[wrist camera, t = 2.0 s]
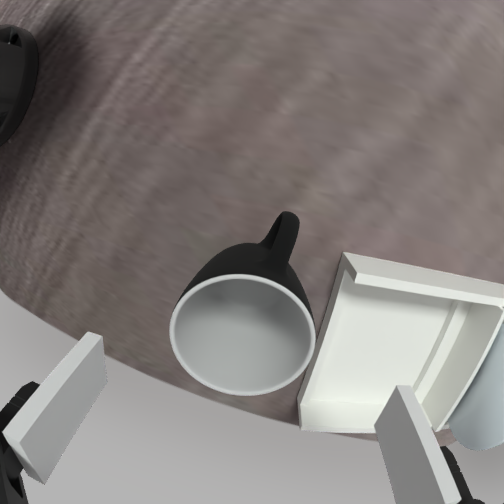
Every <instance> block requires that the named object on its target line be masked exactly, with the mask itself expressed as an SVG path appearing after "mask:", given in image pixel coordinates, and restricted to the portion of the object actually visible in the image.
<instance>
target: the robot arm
mask: <svg viewBox="0 0 504 504" xmlns="http://www.w3.org/2000/svg"><path fill="white" fill-rule="evenodd" d="M37 71H38V50H37V45H36V42H35V40H34V38H33V36H32V35H31V34H30V32H28V31H27V30H25V29H23V28H20V27H17V26H14V25H7V24H5V25H0V146H1V145H2V144H3V143H4V142H6V141H7V140H8V139H9V137H10V136H11V135H12V134H13V133H14V131H15V130H16V128H17V127H18V125H19V124H20V122H21V120H22V118H23V116H24V114H25V112H26V110H27V108H28V105H29V103H30V100H31V97H32V94H33V91H34V87H35V83H36V78H37ZM106 383H107V375H106V366H105V357H104V347H103V336H100V335H97V334H94V333H91V332H87V333H86V334H85V335H84V336H83V337H82V339H81V340H80V341H79V342H78V343H77V344H76V345H75V346H74V347H73V348H72V350H71V351H70V352H69V353H68V354H67V355H66V356H65V357H64V359H63V360H62V361H61V362H60V363H59V364H58V365H57V366H56V368H55V369H54V370H53V371H52V372H51V373H50V375H49V376H48V377H47V378H46V379H45V380H44V381H43V383H42V384H41V385H39V384H37V383H35V382H33V381H32V382H30V383H28V384H26V385H24V386H23V387H22V388H21V389H20V390H19V391H18V392H17V393H16V394H15V397H13V398H12V399H11V400H10V402H9V403H7V405H6V406H5V407H4V408H3V409H2V411H1V412H0V504H28V500H27V496H26V493H25V489H24V485H23V480H22V477H21V475H20V472H21V471H22V469H23V468H24V470H25V471H26V473H27V474H28V476H30V477H32V478H33V479H35V480H37V481H39V482H41V483H42V484H44V485H45V483H46V482H47V480H48V478H49V476H50V474H51V473H52V471H53V469H54V468H55V466H56V464H57V462H58V461H59V459H60V457H61V456H62V454H63V452H64V451H65V449H66V447H67V446H68V444H69V442H70V441H71V439H72V437H73V435H74V434H75V433H76V431H77V429H78V428H79V426H80V424H81V423H82V421H83V420H84V418H85V416H86V415H87V413H88V412H89V410H90V408H91V407H92V405H93V404H94V402H95V401H96V399H97V397H98V396H99V394H100V393H101V391H102V390H103V388H104V386H105V385H106ZM374 428H375V431H376V434H377V438H378V441H379V444H380V448H381V451H382V454H383V458H384V461H385V465H386V468H387V472H388V475H389V479H390V483H391V486H392V490H393V493H394V497H395V501H396V504H485V503H484V502H482V501H481V500H477V499H473V498H472V496H471V494H470V491H469V489H468V486H467V484H466V482H465V480H464V477H463V475H462V473H461V472H460V468H459V466H458V465H457V461H456V459H455V457H454V455H453V454H452V452H451V451H450V450H449V449H448V448H447V447H446V446H442V447H439V445H438V442H437V440H436V438H435V436H434V434H433V431H432V429H431V427H430V425H429V423H428V421H427V419H426V417H425V415H424V413H423V410H422V408H421V406H420V404H419V402H418V400H417V398H416V396H415V394H414V392H413V390H412V388H411V386H410V385H396V387H395V389H394V391H393V392H392V394H391V396H390V398H389V400H388V402H387V403H386V405H385V407H384V409H383V410H382V412H381V414H380V416H379V417H378V419H377V421H376V422H375V424H374ZM503 504H504V503H503Z"/></svg>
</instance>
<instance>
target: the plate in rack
mask: <svg viewBox="0 0 504 504" xmlns="http://www.w3.org/2000/svg"><path fill="white" fill-rule="evenodd" d="M448 423H449V426H450V429H451V431H452V433H453V435H454V437H455V438H456V439H457V441H458V442H459V443H460V444H462V445H463V446H464V447H466V448H468V449H471V450H485V449H489V448H493V447H496V446H499V445H501V444H503V443H504V323H502V324H501V326H500V329H499V331H498V333H497V335H496V337H495V339H494V341H493V343H492V345H491V347H490V349H489V351H488V353H487V355H486V357H485V359H484V361H483V363H482V364H481V366H480V368H479V370H478V372H477V373H476V375H475V377H474V379H473V380H472V382H471V384H470V385H469V387H468V389H467V390H466V392H465V394H464V395H463V397H462V398H461V400H460V402H459V403H458V405H457V406H456V408H455V409H454V411H453V412H452V414H451V415H450V417H449V418H448Z"/></svg>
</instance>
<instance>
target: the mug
mask: <svg viewBox="0 0 504 504" xmlns="http://www.w3.org/2000/svg"><path fill="white" fill-rule="evenodd" d="M299 224H300V222H299V219H298V217H297V216H296V215H295V214H293V213H291V212H287V211H285V212H282V213H281V214H280V215H279V216H278V218H277V219H276V221H275V222H274V224H273V226H272V228H271V229H270V231H269V233H268V235H267V236H266V237H265V239H264V240H263V241H262V242H260V243H258V244H256V243H243V244H238V245H234V246H232V247H229V248H227V249H225V250H223V251H222V252H220V253H219V254H217V255H216V256H215V257H214V258H212V259H211V260H210V261H209V262H208V263H207V264H206V265H205V266H204V267H203V268H202V269H201V270H200V271H199V272H198V273H197V275H196V276H195V277H194V278H193V280H192V281H191V282H190V283H189V285H188V286H187V287H186V289H185V290H184V292H183V293H182V295H181V297H180V298H179V300H178V302H177V304H176V306H175V308H174V310H173V313H172V316H171V320H170V328H169V334H170V342H171V346H172V349H173V351H174V354H175V356H176V358H177V359H178V361H179V362H180V364H181V365H182V367H183V368H184V369H185V370H186V371H187V372H188V373H189V374H190V375H191V376H192V377H193V378H195V379H196V380H197V381H199V382H200V383H202V384H204V385H206V386H207V387H209V388H212V389H214V390H217V391H220V392H223V393H227V394H232V395H240V396H253V395H261V394H266V393H269V392H273V391H275V390H278V389H280V388H282V387H284V386H286V385H288V384H289V383H291V382H292V381H293V380H295V379H296V378H297V377H298V376H299V375H300V374H301V373H302V372H303V371H304V370H305V368H306V367H307V365H308V364H309V362H310V360H311V358H312V355H313V352H314V348H315V341H316V330H315V324H314V318H313V315H312V311H311V308H310V305H309V302H308V299H307V297H306V294H305V292H304V289H303V287H302V285H301V283H300V281H299V279H298V277H297V275H296V273H295V272H294V270H293V269H292V267H291V266H290V265H289V263H288V261H289V258H290V255H291V253H292V250H293V247H294V245H295V242H296V238H297V235H298V231H299Z"/></svg>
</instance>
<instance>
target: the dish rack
mask: <svg viewBox="0 0 504 504" xmlns="http://www.w3.org/2000/svg"><path fill="white" fill-rule="evenodd" d="M502 323H504V285H503V284H499V283H494V282H489V281H485V280H480V279H475V278H471V277H466V276H461V275H456V274H452V273H447V272H442V271H437V270H432V269H427V268H423V267H418V266H413V265H408V264H403V263H398V262H393V261H388V260H383V259H378V258H373V257H368V256H362V255H357V254H352V253H347V252H343V253H342V256H341V260H340V264H339V268H338V271H337V275H336V279H335V282H334V286H333V289H332V293H331V296H330V300H329V303H328V306H327V310H326V313H325V316H324V319H323V323H322V326H321V329H320V332H319V335H318V339H317V342H316V345H315V348H314V352H313V355H312V358H311V360H310V363H309V366H308V368H307V371H306V374H305V377H304V380H303V383H302V386H301V388H300V391H299V394H298V397H297V401H298V413H299V425H300V430H303V431H317V432H337V433H376V431H375V428H374V424H375V422H376V421H377V419H378V417H379V416H380V414H381V412H382V410H383V409H384V407H385V405H386V403H387V402H388V400H389V398H390V396H391V394H392V392H393V391H394V389H395V387H396V385H410V386H411V388H412V390H413V392H414V394H415V396H416V398H417V400H418V402H419V404H420V406H421V408H422V410H423V413H424V415H425V417H426V419H427V421H428V423H429V425H430V427H431V429H432V430H435V432H437V431H440V429H448V428H450V426H449V423H448V418H449V417H450V415H451V414H452V412H453V411H454V409H455V408H456V406H457V405H458V403H459V402H460V400H461V398H462V397H463V395H464V394H465V392H466V390H467V389H468V387H469V385H470V384H471V382H472V380H473V379H474V377H475V375H476V373H477V372H478V370H479V368H480V366H481V364H482V363H483V361H484V359H485V357H486V355H487V353H488V351H489V349H490V347H491V345H492V343H493V341H494V339H495V337H496V335H497V333H498V331H499V329H500V326H501V324H502Z"/></svg>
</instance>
